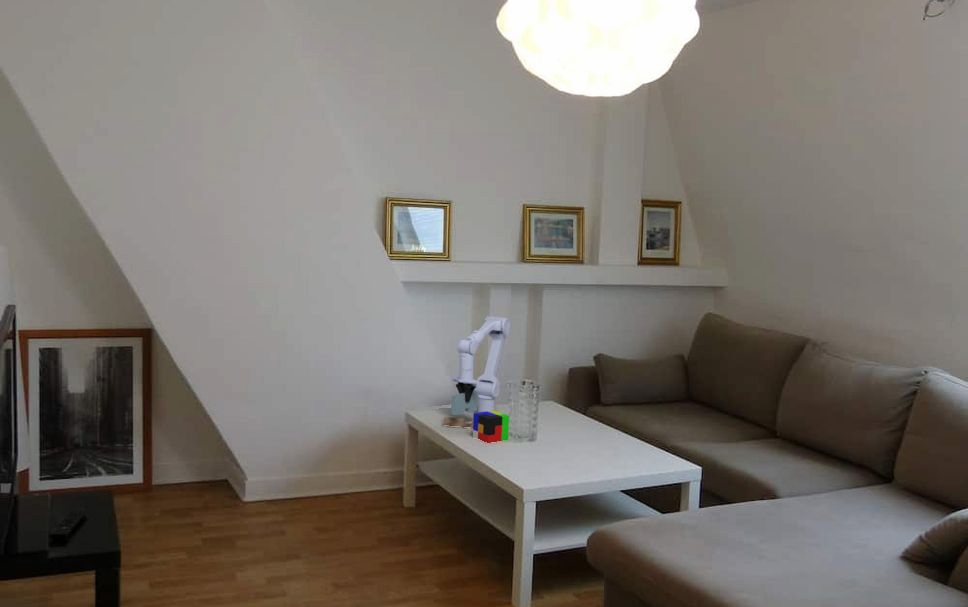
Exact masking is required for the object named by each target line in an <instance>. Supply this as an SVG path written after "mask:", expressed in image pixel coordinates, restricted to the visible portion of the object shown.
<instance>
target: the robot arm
mask: <svg viewBox="0 0 968 607" xmlns="http://www.w3.org/2000/svg"><path fill="white" fill-rule="evenodd" d="M510 328H511V323H510V320H509V318H508V317H502V316H493V315H487V316H486V317H485V318H484V322H483V324H482V326H481V327H480V328H479V329H477V330H473V331H472V333H470V334H469V335H468V336H467V337H466V338H465V339H461V340H460V341H459V342H458V344H457V350H456V351H457V353H458V357H459V373H458V374H459V375H458V376H451V378H450V379H451V381H450V382H452V383H456V384H455V387H456V388H457V392H458V394H460V393H465V402H470V399H471V396H472V393H473V391H478V405H477V413H479V412H486V411H493V410H494V411H496V399H497V397H498V396H499V395H500V388H501V387H500V386H501V382H500V380H499V379H498V378H497V372H498V370H499V364H500V361H501V356H502V353H503V348H504V345H505V340H506V339H508V336H509V333H510ZM487 335H488V336H489V337H491V339H492V341H491V346H490V349H489V353H488V356H487V361H486V364H485V369H484V373H483V374H481V375H480V376H478V377H477V379H474V367H475V366H474V362H475V360H474V359H475V354H476V353H477V350H478V349H479V346H480V345H481V344H482V343H483V342H484V341H485V337H486V336H487Z"/></svg>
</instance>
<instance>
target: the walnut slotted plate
mask: <svg viewBox="0 0 968 607" xmlns="http://www.w3.org/2000/svg"><path fill="white" fill-rule="evenodd" d="M444 425H449V426H460V427H471V428H473V419H472V420H471V422H470V423H468V422H465V418H460V417H446V416H444V417H443V426H444Z"/></svg>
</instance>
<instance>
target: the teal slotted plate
mask: <svg viewBox="0 0 968 607" xmlns="http://www.w3.org/2000/svg"><path fill="white" fill-rule="evenodd" d="M450 409H451V410H450V415H452V416H459V415H462V414H464V411H465V412H466V413H467V412H468V413H470V412H475V411H478V391H473V393H472V396H471V399H470V402H465V393H460V394H459V393H457V394H451V407H450Z"/></svg>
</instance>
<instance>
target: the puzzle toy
mask: <svg viewBox="0 0 968 607" xmlns="http://www.w3.org/2000/svg"><path fill="white" fill-rule="evenodd" d="M472 418H473V429H472V438H473V437H475V438H478V439H480V440H482V441H484V442H487V443H490V444H492V443H491V442H496V443H498V442H497V441H502V442H504V441H503V440H508V441H509V435H510V434H509V431H510V430H509V429H510V415H508V414H506V413H504V412H503V413H502V412H499V411H497V410H495V411H494V410H493V411H486V412H479V413H478V412H474V413H473V417H472ZM482 441H481V442H482ZM484 442H483V443H484ZM487 443H486V444H487Z"/></svg>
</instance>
